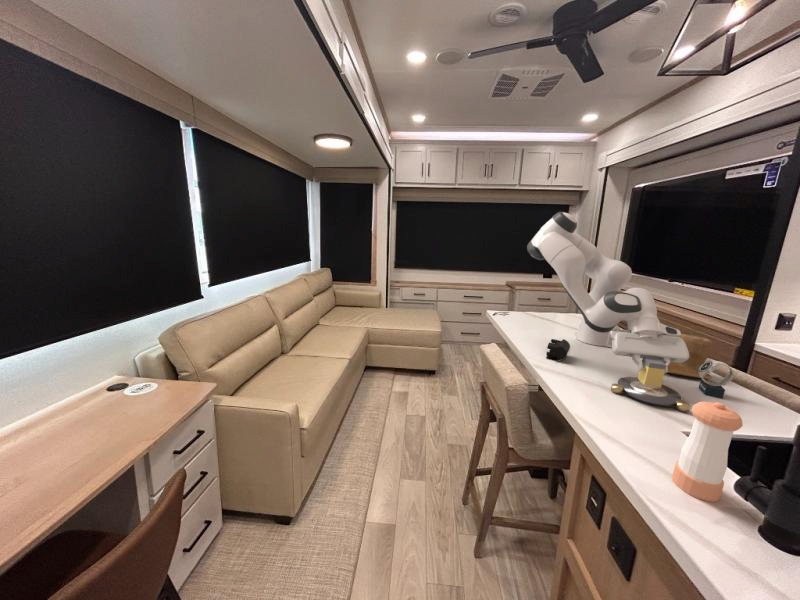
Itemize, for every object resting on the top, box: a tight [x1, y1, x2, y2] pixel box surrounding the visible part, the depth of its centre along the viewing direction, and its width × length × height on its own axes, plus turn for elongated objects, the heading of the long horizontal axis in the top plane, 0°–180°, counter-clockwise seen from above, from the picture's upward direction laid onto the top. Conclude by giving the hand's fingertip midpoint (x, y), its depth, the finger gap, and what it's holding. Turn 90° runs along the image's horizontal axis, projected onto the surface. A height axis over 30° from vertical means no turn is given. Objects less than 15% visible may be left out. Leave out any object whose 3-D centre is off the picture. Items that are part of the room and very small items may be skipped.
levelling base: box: [610, 376, 691, 413], centre depth 98 cm, size 19×19×2 cm
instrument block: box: [637, 358, 666, 387], centre depth 98 cm, size 4×4×8 cm
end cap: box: [545, 338, 571, 362], centre depth 127 cm, size 10×7×7 cm
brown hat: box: [666, 333, 713, 380], centre depth 115 cm, size 15×12×15 cm
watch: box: [698, 360, 735, 399], centre depth 101 cm, size 6×8×11 cm
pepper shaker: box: [671, 401, 744, 502], centre depth 62 cm, size 7×7×19 cm
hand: (653, 371), depth 97 cm, fingers closed on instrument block, 4 cm apart
